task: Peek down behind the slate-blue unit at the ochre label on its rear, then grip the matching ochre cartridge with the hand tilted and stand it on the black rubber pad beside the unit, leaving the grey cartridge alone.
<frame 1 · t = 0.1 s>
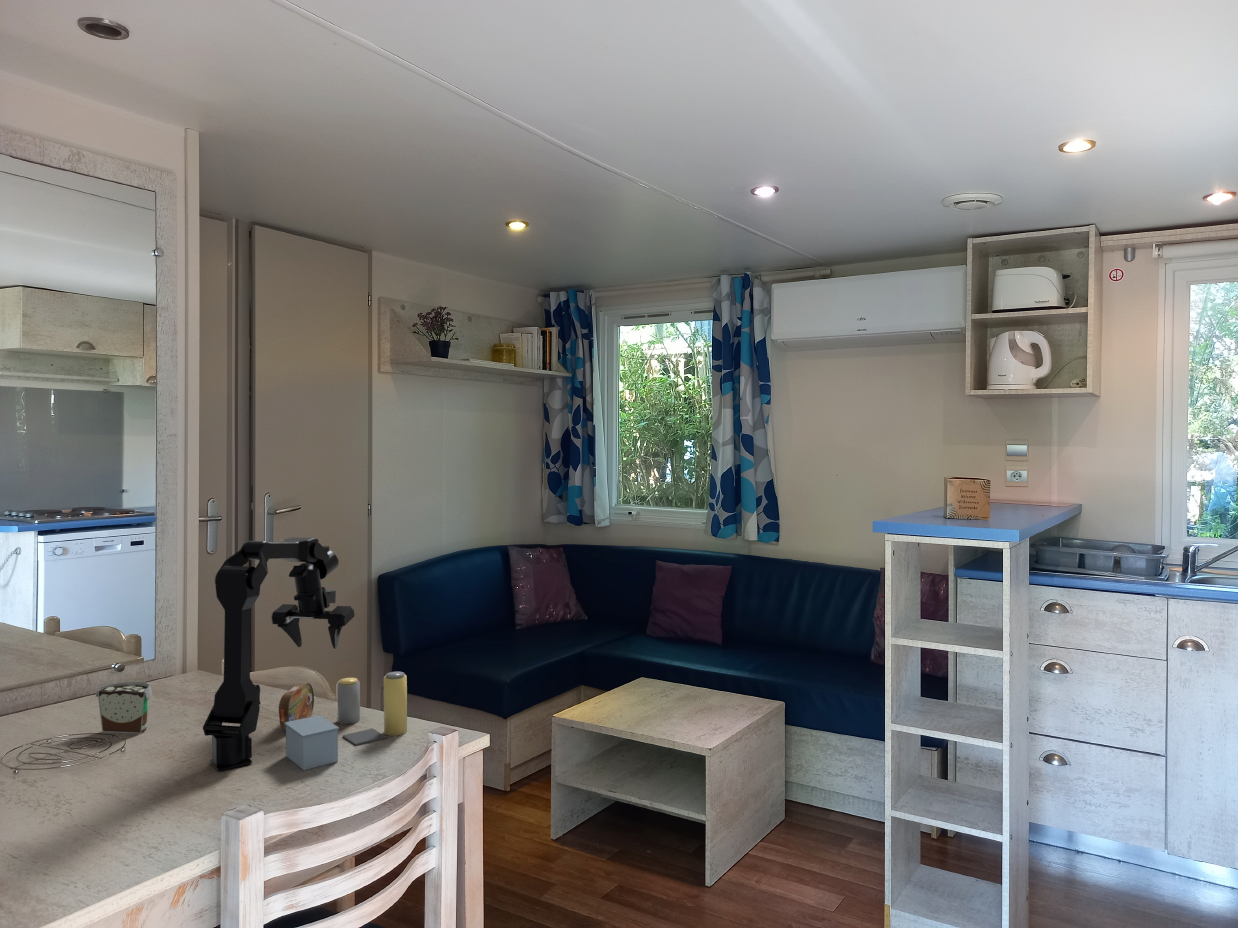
hand: (317, 647, 207), 15 cm above the table, tool pointing down, fingers open, 9 cm apart
food container: (130, 729, 194), on the table
tin: (296, 724, 198), on the table
unit: (311, 758, 176), on the table
pad: (364, 737, 188), on the table
ochre cartridge: (395, 731, 192), on the table
grey cartridge: (348, 720, 200), on the table
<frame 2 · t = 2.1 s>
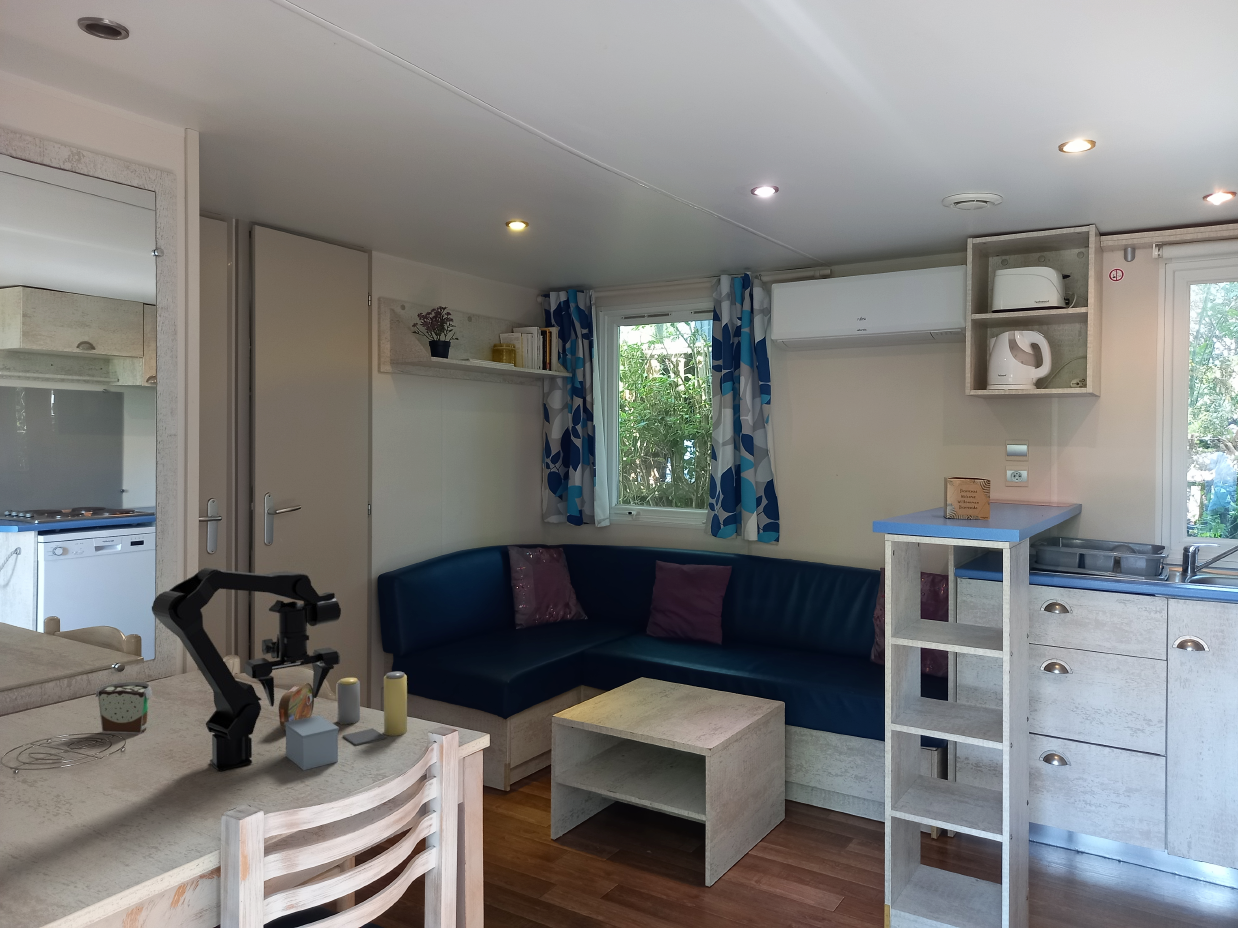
hand: (293, 701, 185), 9 cm above the table, tool pointing down, fingers open, 9 cm apart
nothing on the table moved.
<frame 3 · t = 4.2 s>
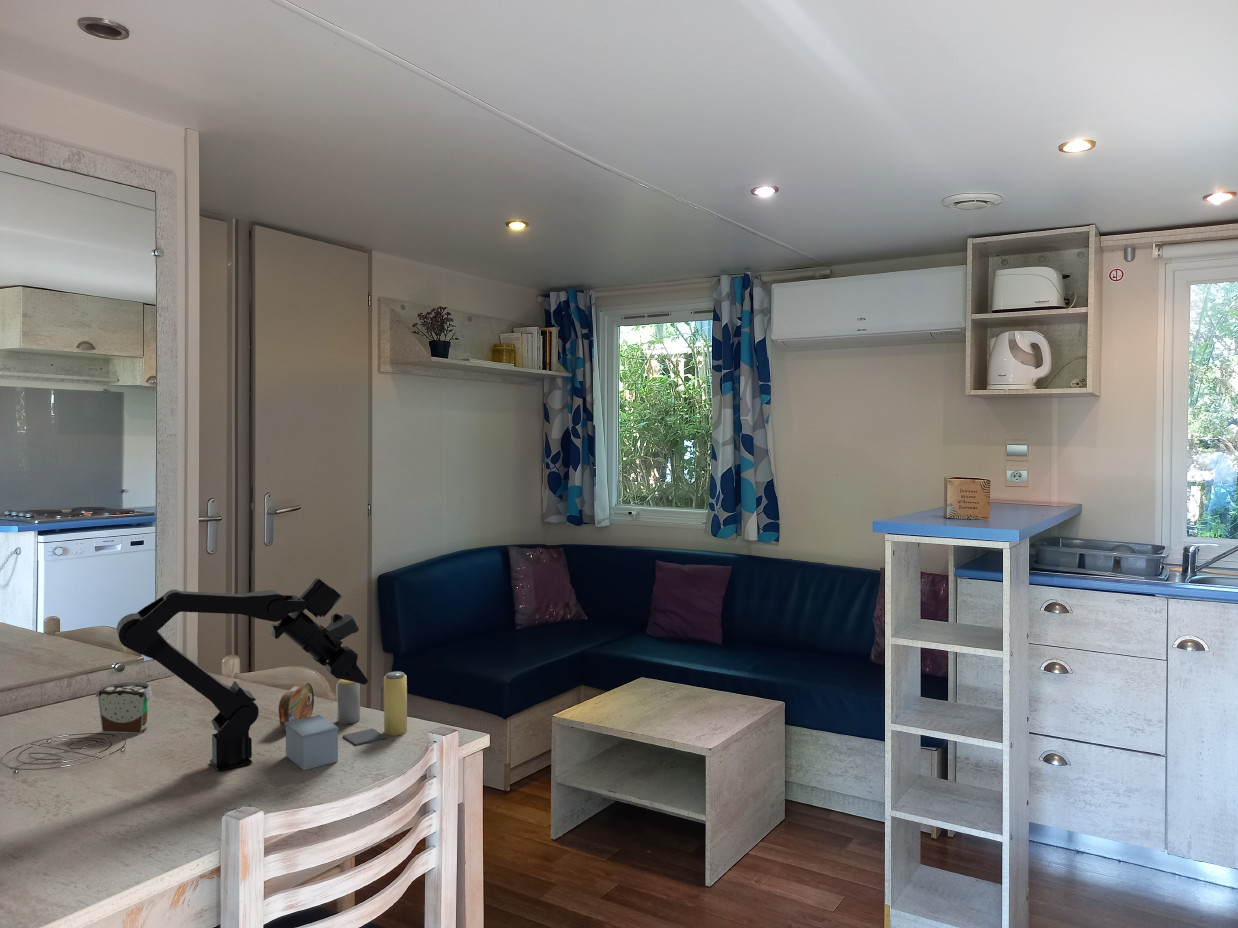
hand: (360, 677, 188), 13 cm above the table, tool tilted 45°, fingers open, 9 cm apart
nothing on the table moved.
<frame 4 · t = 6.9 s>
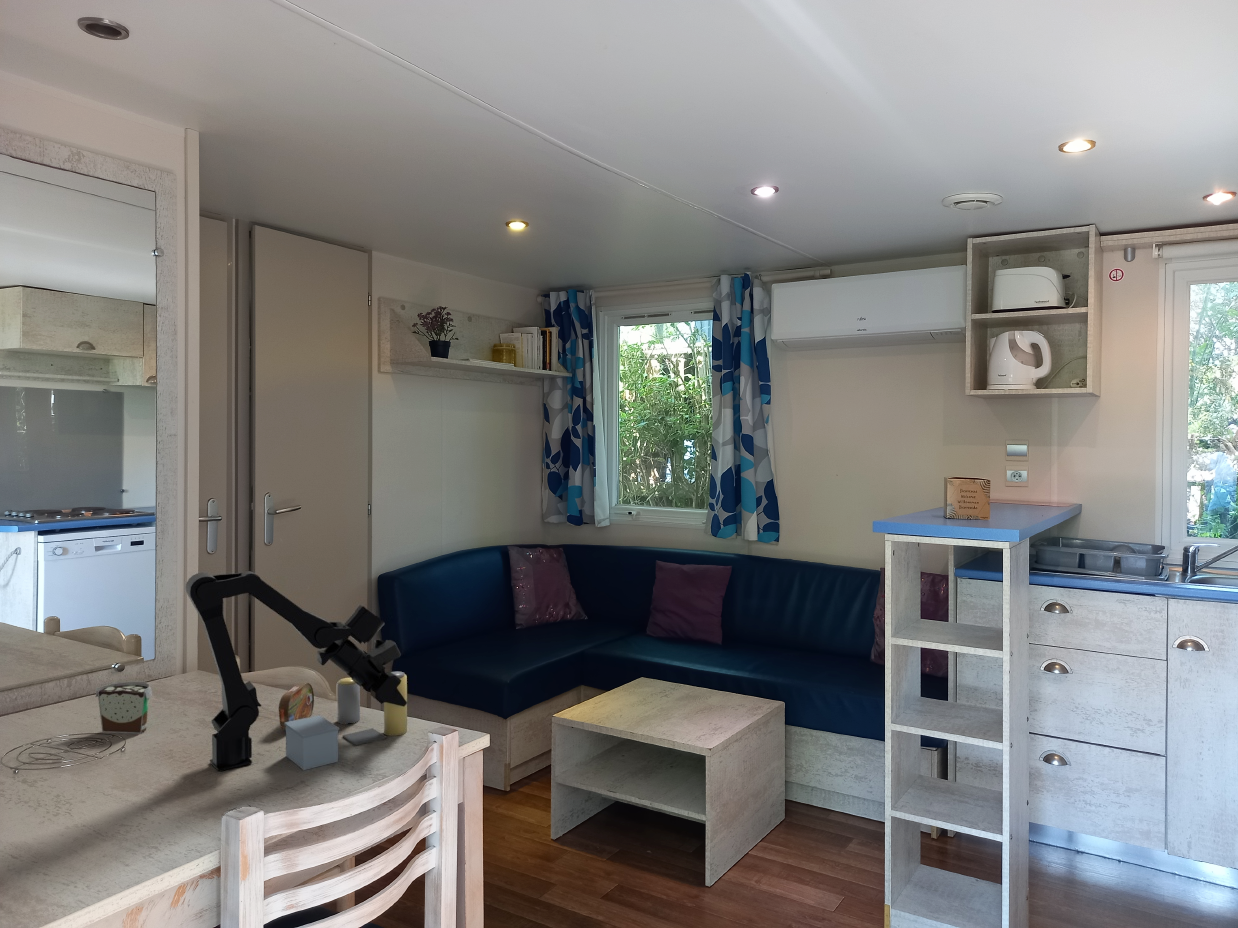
hand: (401, 701, 193), 7 cm above the table, tool tilted 45°, fingers closed on ochre cartridge, 5 cm apart
ochre cartridge: (395, 731, 192), on the table, touching gripper
everything else where it was.
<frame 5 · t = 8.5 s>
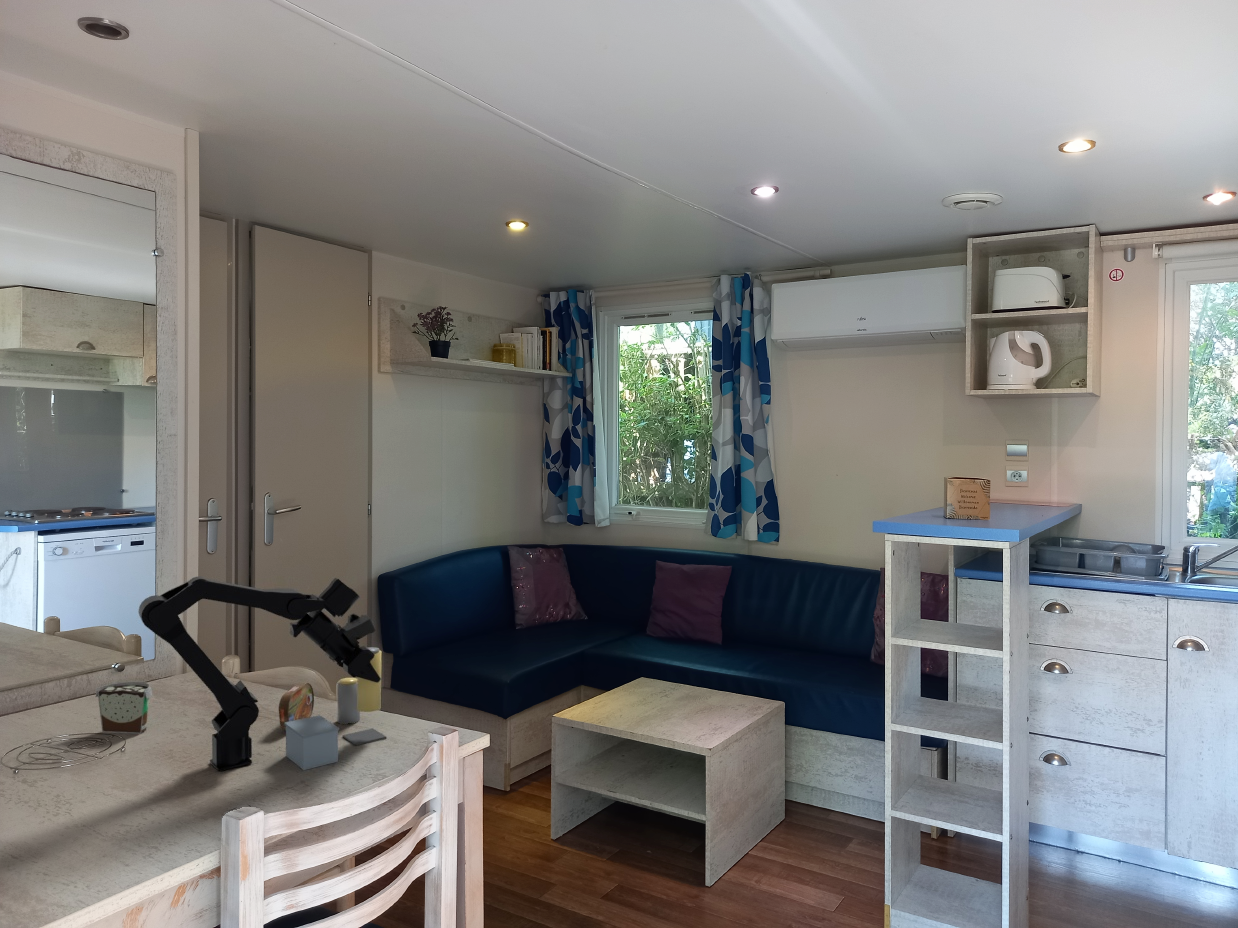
hand: (375, 677, 189), 13 cm above the table, tool tilted 45°, fingers closed on ochre cartridge, 5 cm apart
ochre cartridge: (368, 708, 189), point 6 cm above the table, touching gripper
everything else where it was.
when the fingers open (8 cm above the table, at t = 10.0 s): ochre cartridge drops 1 cm, resting on pad.
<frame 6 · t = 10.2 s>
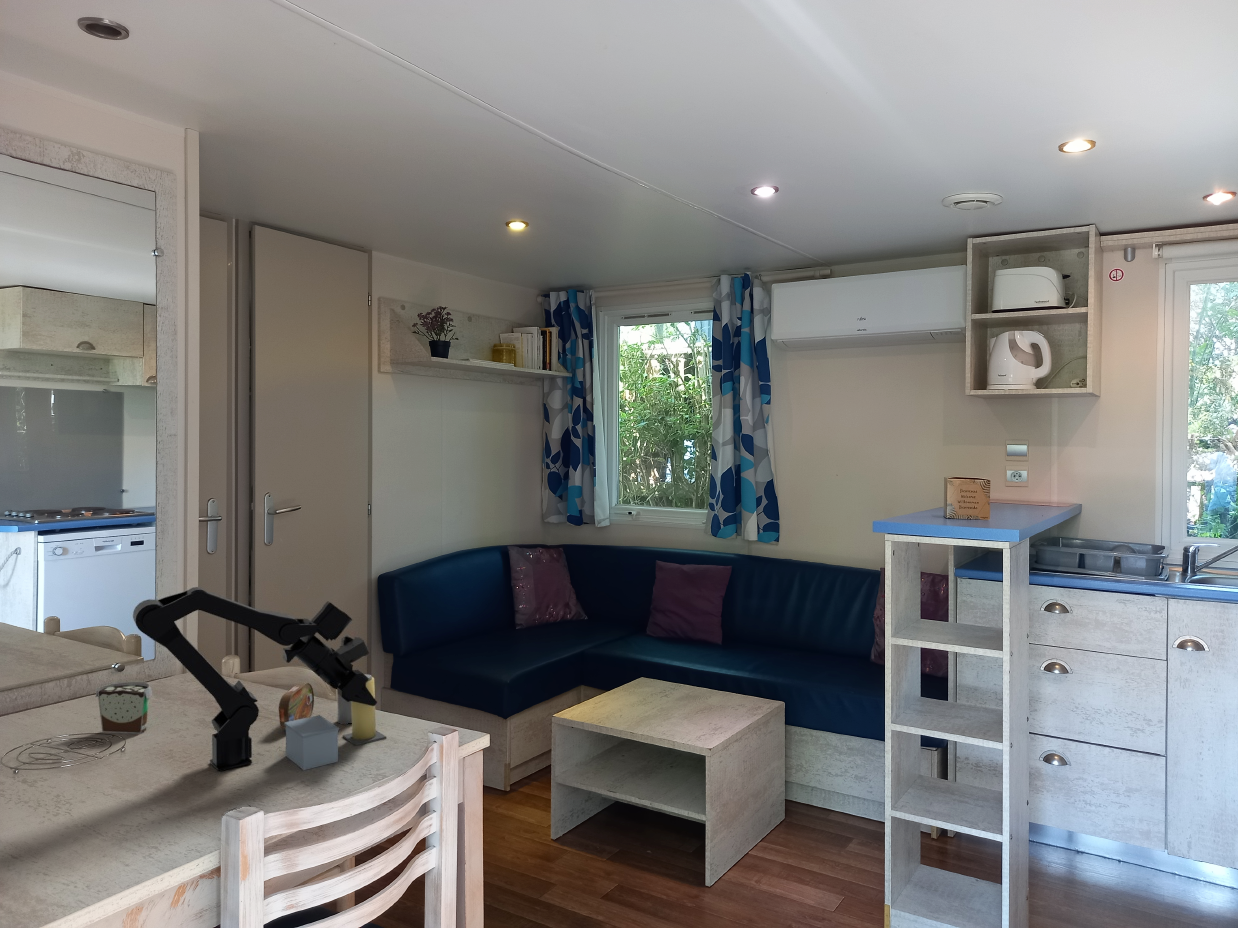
hand: (370, 699, 189), 8 cm above the table, tool tilted 45°, fingers open, 7 cm apart
ochre cartridge: (364, 735, 188), resting on pad
everything else where it was.
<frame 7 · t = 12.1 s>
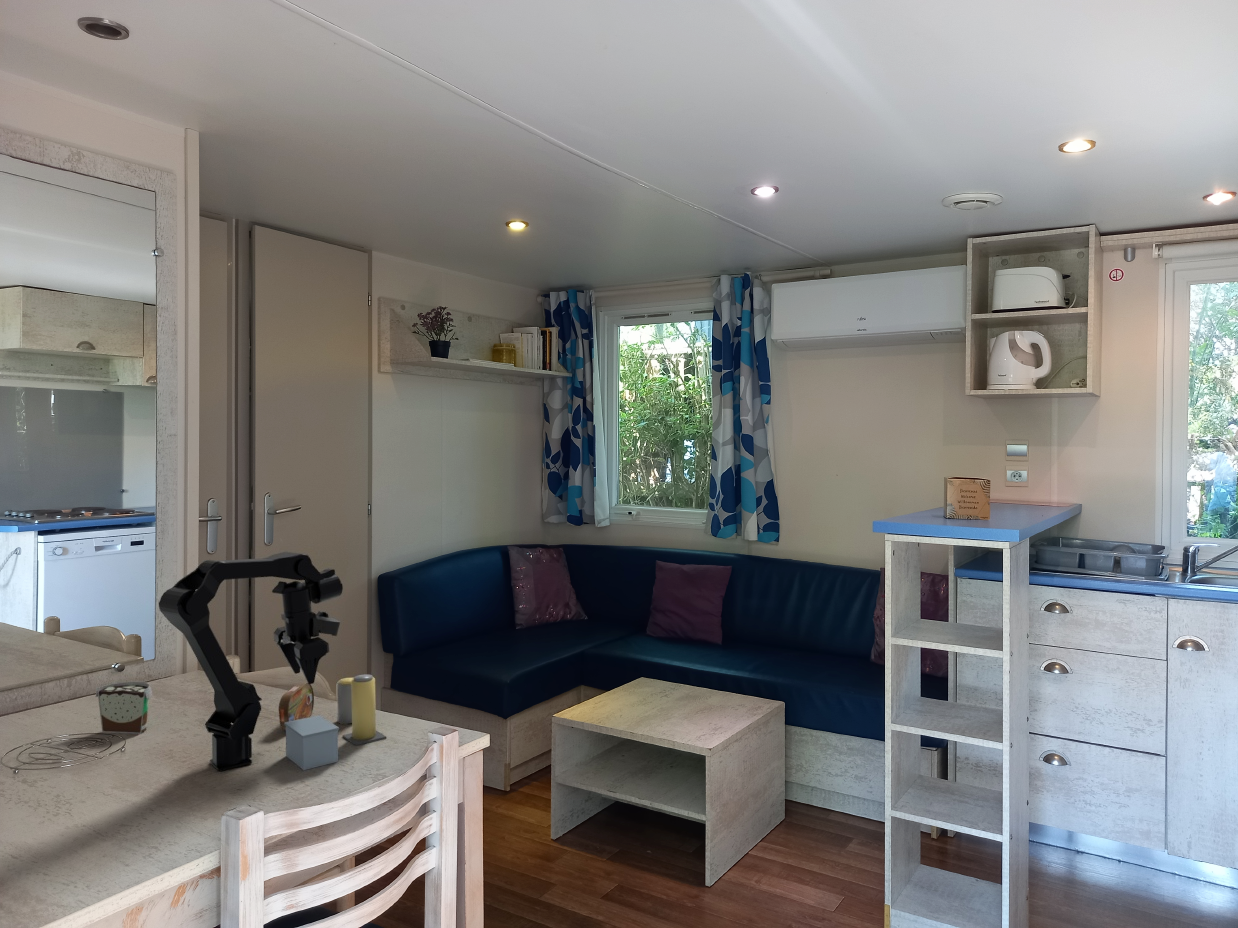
hand: (304, 678, 188), 13 cm above the table, tool pointing down, fingers open, 9 cm apart
nothing on the table moved.
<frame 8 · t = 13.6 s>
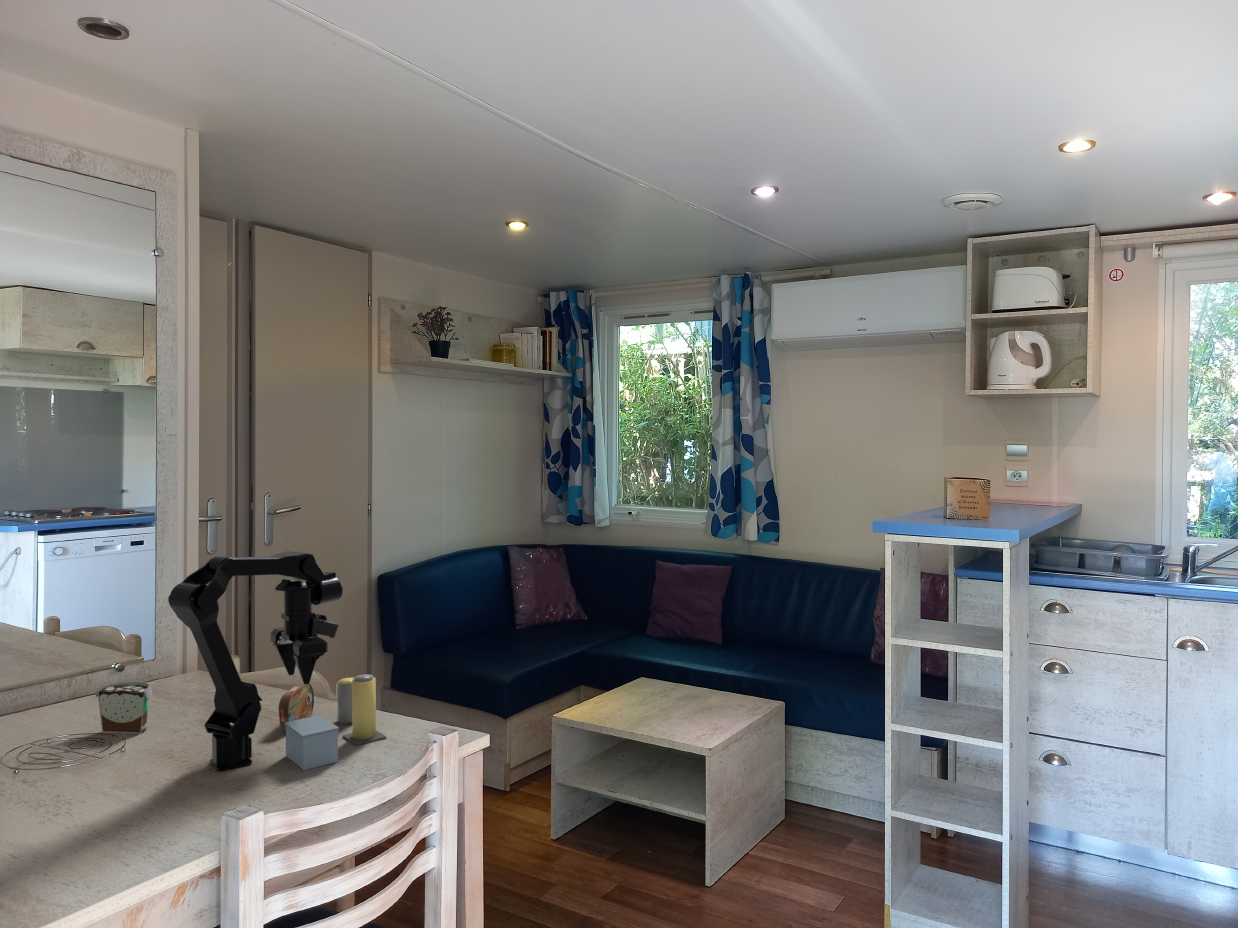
hand: (298, 679, 188), 13 cm above the table, tool pointing down, fingers open, 9 cm apart
nothing on the table moved.
at the end: ochre cartridge 0.1 cm from the pad (horizontally); ochre cartridge tilted 1°; the gripper is holding nothing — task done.
